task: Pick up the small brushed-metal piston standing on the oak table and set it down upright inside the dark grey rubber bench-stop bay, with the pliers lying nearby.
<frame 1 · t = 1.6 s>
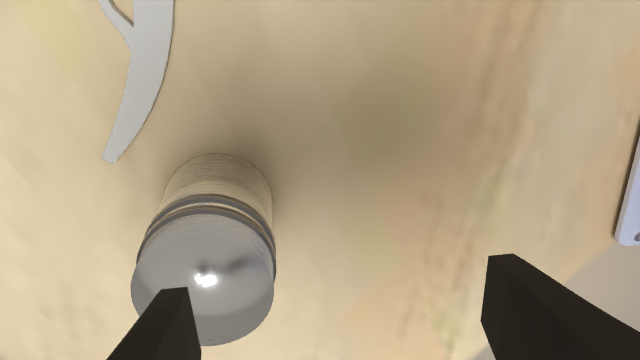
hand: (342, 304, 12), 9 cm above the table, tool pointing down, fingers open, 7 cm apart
piston: (219, 201, 21), on the table
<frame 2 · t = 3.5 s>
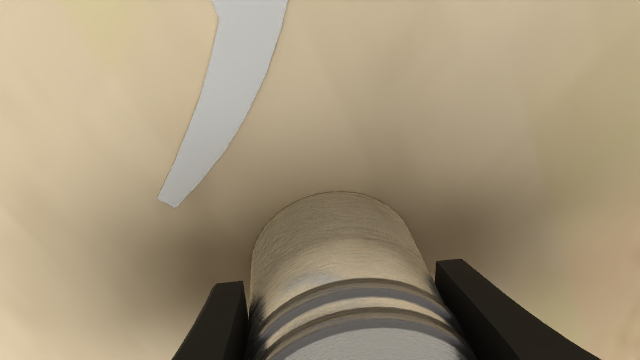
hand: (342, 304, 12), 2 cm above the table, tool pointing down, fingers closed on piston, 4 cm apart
piston: (333, 264, 13), on the table, touching gripper
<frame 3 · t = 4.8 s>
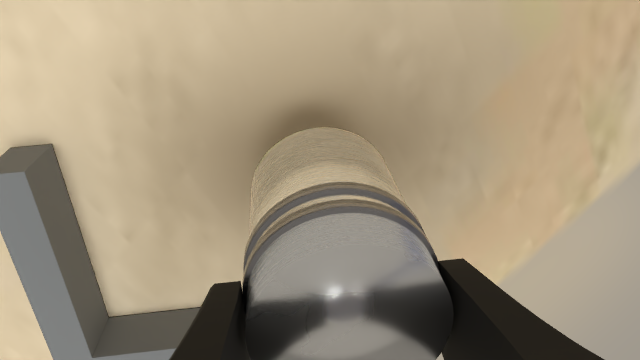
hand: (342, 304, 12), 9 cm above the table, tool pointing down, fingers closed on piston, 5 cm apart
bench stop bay: (308, 179, 20), on the table
piston: (321, 192, 16), point 4 cm above the table, touching gripper
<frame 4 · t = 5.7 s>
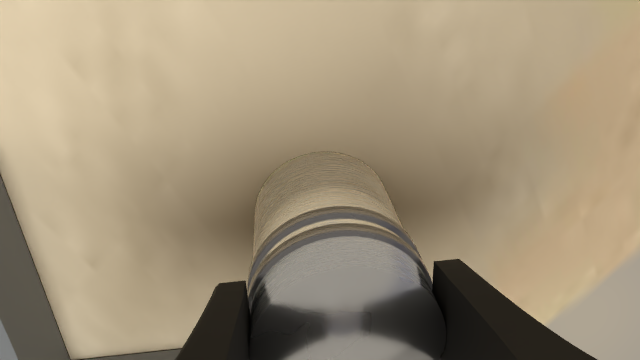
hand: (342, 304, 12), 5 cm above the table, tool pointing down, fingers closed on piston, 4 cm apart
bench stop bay: (322, 191, 16), on the table
piston: (322, 213, 16), on the table, touching gripper
when the fingers open (3 cm above the table, at t = 6.6 s): piston stays where it is, on the table.
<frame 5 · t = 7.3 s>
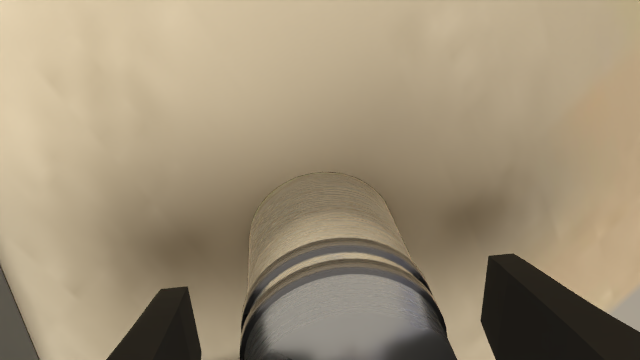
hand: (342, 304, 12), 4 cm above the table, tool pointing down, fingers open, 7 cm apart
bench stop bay: (322, 214, 15), on the table
piston: (322, 237, 15), on the table
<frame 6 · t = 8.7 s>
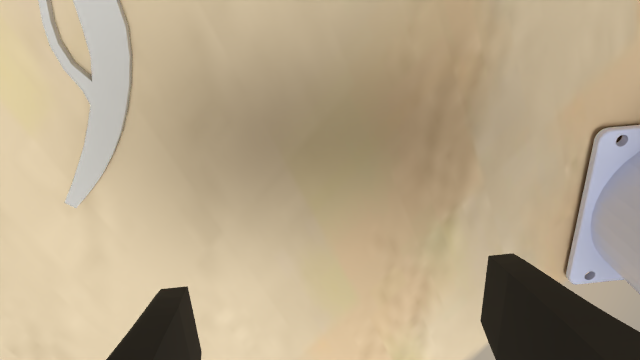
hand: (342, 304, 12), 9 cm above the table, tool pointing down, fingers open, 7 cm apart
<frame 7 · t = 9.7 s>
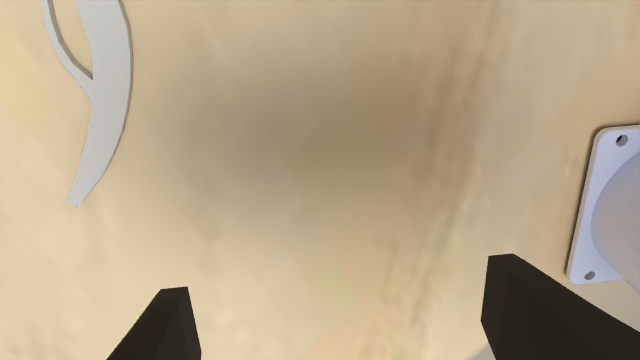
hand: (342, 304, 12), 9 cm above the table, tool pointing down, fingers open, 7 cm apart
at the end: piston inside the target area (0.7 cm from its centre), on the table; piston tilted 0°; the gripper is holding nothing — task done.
